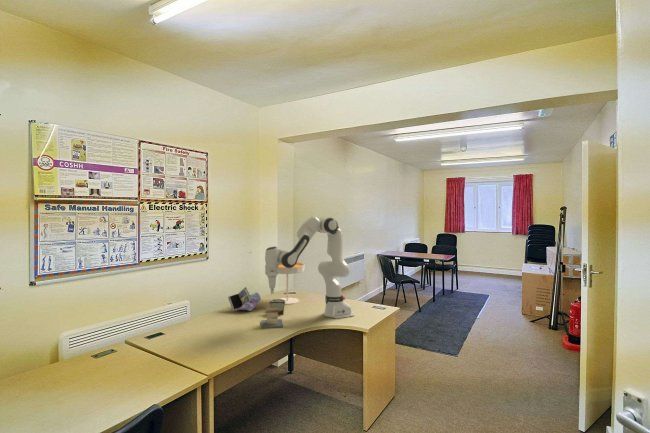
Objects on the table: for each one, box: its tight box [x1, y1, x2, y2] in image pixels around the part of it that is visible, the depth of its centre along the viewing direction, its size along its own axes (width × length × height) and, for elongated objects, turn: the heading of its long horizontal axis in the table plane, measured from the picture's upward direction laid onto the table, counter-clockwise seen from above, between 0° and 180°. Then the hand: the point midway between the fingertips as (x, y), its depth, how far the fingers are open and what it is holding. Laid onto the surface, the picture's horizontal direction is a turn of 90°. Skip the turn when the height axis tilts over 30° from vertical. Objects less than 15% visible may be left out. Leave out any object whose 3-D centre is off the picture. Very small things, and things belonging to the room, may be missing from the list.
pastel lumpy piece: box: [227, 286, 262, 312], centre depth 256 cm, size 20×22×18 cm
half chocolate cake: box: [268, 298, 285, 316], centre depth 246 cm, size 12×6×10 cm, turn 84°
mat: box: [260, 318, 284, 330], centre depth 222 cm, size 14×14×1 cm
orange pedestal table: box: [277, 261, 306, 306], centre depth 279 cm, size 30×30×31 cm
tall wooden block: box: [265, 308, 279, 324], centre depth 222 cm, size 5×9×9 cm, turn 100°
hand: (272, 291), depth 222 cm, fingers open, 8 cm apart
